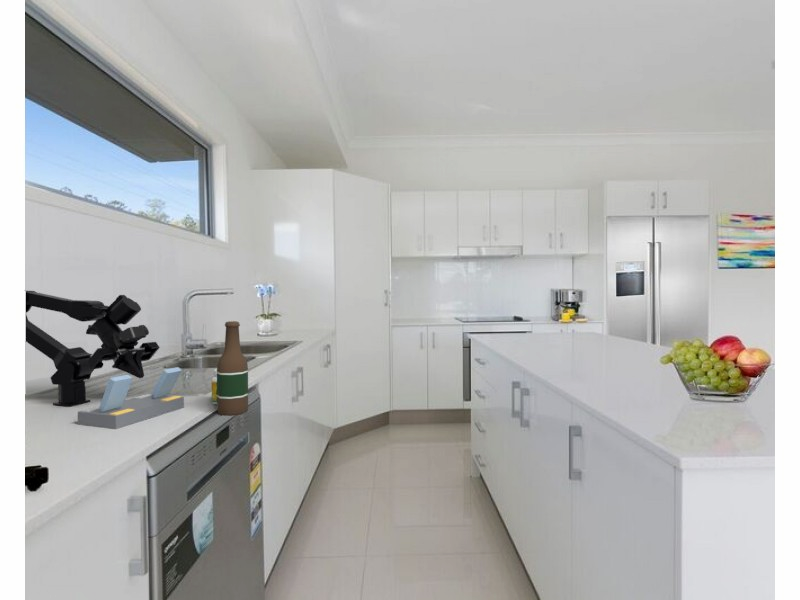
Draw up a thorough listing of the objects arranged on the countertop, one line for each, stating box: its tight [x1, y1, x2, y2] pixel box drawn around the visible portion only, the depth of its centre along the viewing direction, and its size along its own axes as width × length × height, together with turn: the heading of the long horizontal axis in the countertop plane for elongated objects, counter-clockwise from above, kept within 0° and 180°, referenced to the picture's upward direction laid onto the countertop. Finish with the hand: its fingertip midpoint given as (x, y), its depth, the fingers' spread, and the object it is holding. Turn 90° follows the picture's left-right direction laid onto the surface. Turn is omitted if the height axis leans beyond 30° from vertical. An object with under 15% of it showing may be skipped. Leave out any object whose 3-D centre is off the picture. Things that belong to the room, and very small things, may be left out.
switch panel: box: [77, 393, 185, 430], centre depth 119 cm, size 12×21×3 cm, turn 162°
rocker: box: [150, 366, 183, 398], centre depth 125 cm, size 2×5×9 cm
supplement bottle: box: [211, 368, 217, 406], centre depth 133 cm, size 5×5×10 cm
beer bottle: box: [216, 320, 249, 417], centre depth 122 cm, size 8×8×24 cm
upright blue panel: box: [99, 374, 134, 412], centre depth 111 cm, size 2×5×9 cm, turn 162°
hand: (142, 377), depth 128 cm, fingers closed
